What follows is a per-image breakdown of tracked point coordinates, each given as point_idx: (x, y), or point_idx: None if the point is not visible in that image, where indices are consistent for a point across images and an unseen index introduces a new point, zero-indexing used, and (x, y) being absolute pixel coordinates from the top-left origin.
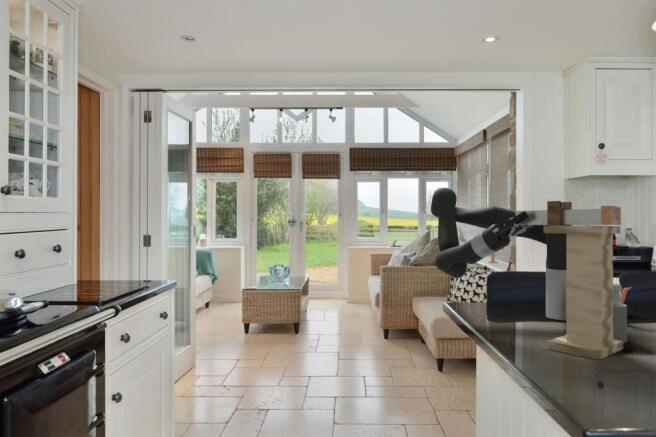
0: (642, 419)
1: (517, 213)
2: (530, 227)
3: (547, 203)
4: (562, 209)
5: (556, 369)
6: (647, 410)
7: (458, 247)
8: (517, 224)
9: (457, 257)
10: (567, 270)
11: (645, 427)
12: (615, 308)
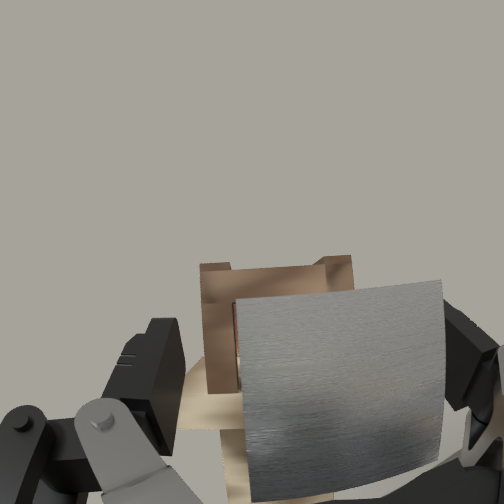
0: (452, 457)
1: (429, 317)
2: (85, 498)
3: (351, 266)
4: (232, 303)
5: None
6: (436, 466)
7: None
8: (426, 449)
9: None
10: (332, 497)
11: (460, 450)
12: None
